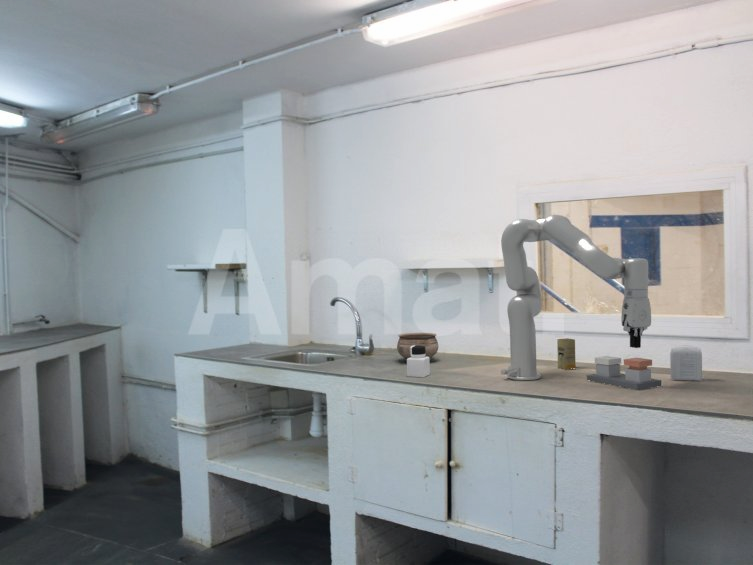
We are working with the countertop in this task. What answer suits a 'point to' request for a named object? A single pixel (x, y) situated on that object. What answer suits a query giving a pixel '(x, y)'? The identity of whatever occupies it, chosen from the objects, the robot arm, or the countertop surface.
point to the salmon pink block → (638, 363)
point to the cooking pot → (417, 343)
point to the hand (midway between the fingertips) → (635, 347)
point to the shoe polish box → (566, 353)
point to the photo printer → (686, 363)
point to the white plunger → (607, 360)
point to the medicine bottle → (418, 362)
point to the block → (624, 377)
